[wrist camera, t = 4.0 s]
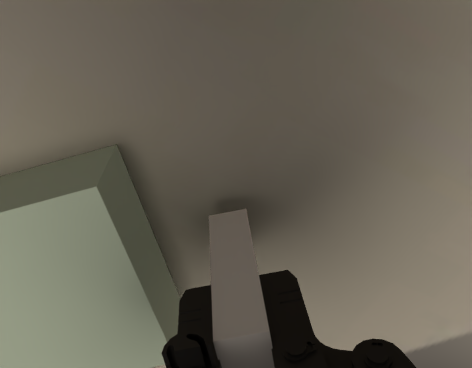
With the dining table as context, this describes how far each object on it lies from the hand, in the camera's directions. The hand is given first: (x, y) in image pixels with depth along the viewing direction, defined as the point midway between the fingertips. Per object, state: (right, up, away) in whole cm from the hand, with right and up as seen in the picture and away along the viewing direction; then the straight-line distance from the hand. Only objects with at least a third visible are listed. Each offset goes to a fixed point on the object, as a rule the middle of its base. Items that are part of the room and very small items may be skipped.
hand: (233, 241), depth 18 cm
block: (-7, -1, +2) cm, 8 cm away
